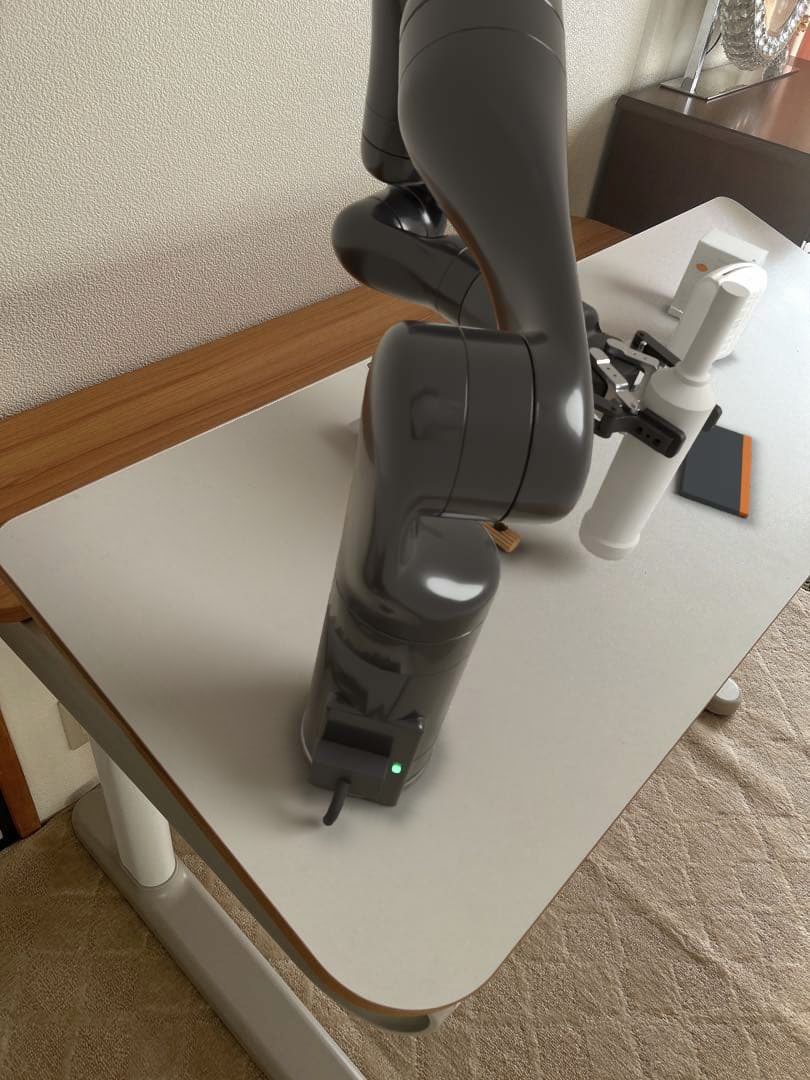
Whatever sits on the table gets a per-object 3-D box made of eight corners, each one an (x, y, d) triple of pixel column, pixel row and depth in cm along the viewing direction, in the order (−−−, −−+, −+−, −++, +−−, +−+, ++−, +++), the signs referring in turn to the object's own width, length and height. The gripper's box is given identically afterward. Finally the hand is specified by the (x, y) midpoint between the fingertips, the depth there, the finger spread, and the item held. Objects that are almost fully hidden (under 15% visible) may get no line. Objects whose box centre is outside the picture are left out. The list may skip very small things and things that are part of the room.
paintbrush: (375, 400, 86) (531, 526, 79) (369, 421, 88) (521, 546, 81) (346, 413, 83) (505, 544, 76) (341, 435, 85) (496, 565, 78)
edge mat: (746, 518, 89) (749, 514, 89) (679, 495, 90) (682, 490, 89) (749, 441, 99) (752, 437, 99) (689, 420, 100) (691, 416, 99)
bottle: (591, 565, 75) (723, 309, 58) (567, 521, 78) (685, 267, 61) (642, 560, 77) (786, 310, 60) (617, 518, 80) (746, 270, 63)
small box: (733, 323, 118) (771, 251, 111) (721, 339, 114) (760, 265, 107) (678, 298, 120) (712, 225, 113) (665, 313, 116) (699, 239, 109)
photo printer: (708, 338, 114) (753, 250, 105) (733, 357, 112) (781, 268, 103) (657, 354, 108) (700, 263, 100) (682, 374, 106) (728, 282, 98)
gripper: (485, 305, 67) (672, 428, 60) (590, 262, 75) (763, 365, 69) (461, 386, 72) (630, 507, 65) (562, 337, 80) (720, 439, 74)
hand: (697, 433), depth 67 cm, fingers closed on bottle, 5 cm apart
